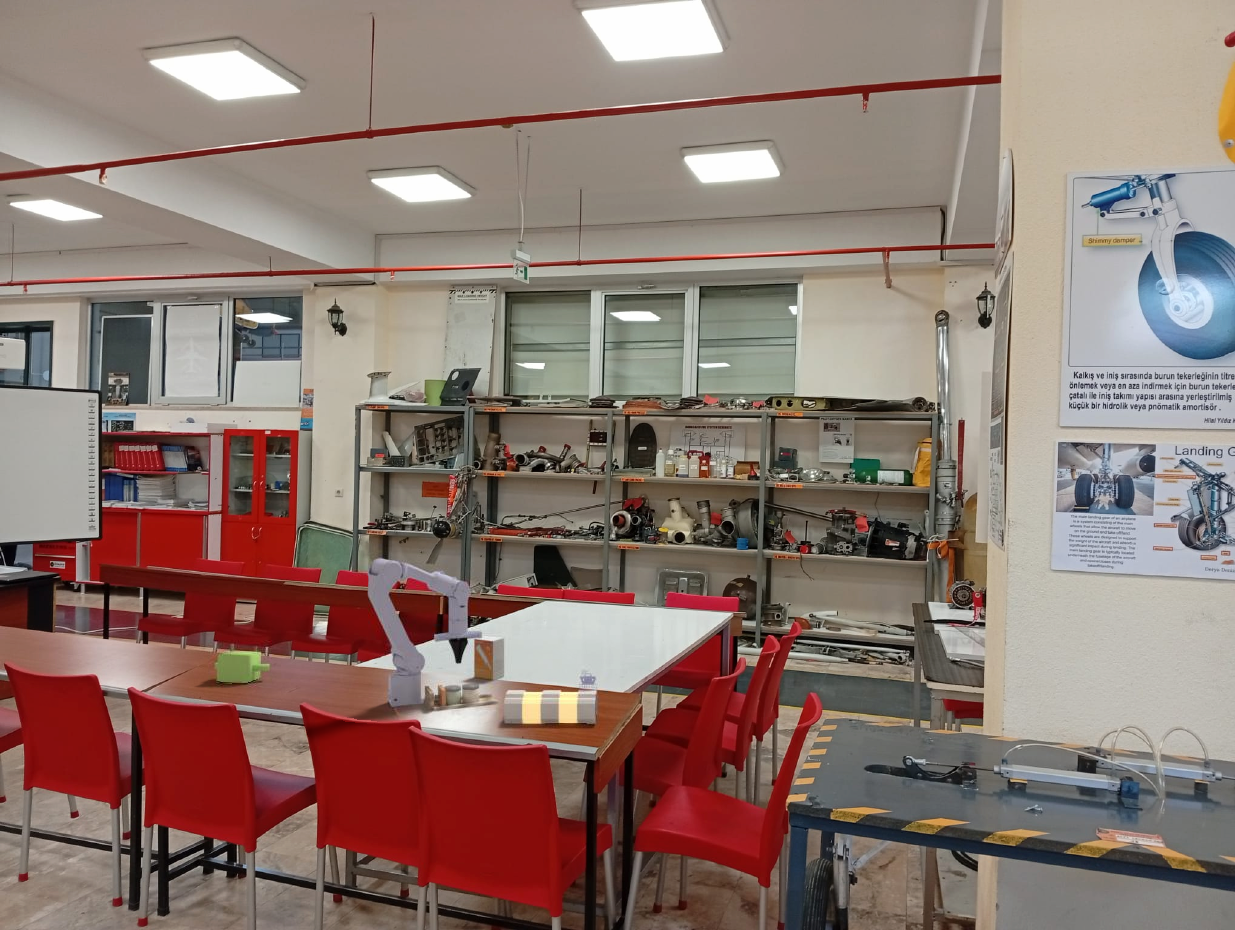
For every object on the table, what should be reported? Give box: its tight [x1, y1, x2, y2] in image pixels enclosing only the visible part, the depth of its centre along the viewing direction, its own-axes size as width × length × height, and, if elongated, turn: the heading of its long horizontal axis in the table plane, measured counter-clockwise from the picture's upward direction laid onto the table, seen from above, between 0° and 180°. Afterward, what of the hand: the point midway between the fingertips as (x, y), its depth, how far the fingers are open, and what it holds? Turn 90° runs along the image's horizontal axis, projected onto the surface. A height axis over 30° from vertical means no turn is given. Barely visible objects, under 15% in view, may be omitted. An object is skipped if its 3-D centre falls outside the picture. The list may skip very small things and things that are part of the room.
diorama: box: [503, 669, 598, 725], centre depth 244 cm, size 25×10×13 cm, turn 89°
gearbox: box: [214, 650, 271, 684], centre depth 290 cm, size 18×10×10 cm, turn 83°
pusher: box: [434, 684, 446, 706], centre depth 256 cm, size 2×7×5 cm, turn 22°
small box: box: [473, 635, 505, 681], centre depth 293 cm, size 8×6×13 cm
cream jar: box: [461, 683, 480, 704], centre depth 259 cm, size 5×5×5 cm
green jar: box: [443, 684, 462, 706], centre depth 257 cm, size 5×5×5 cm
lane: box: [424, 685, 500, 713], centre depth 258 cm, size 20×10×6 cm, turn 112°
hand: (458, 662), depth 272 cm, fingers closed
